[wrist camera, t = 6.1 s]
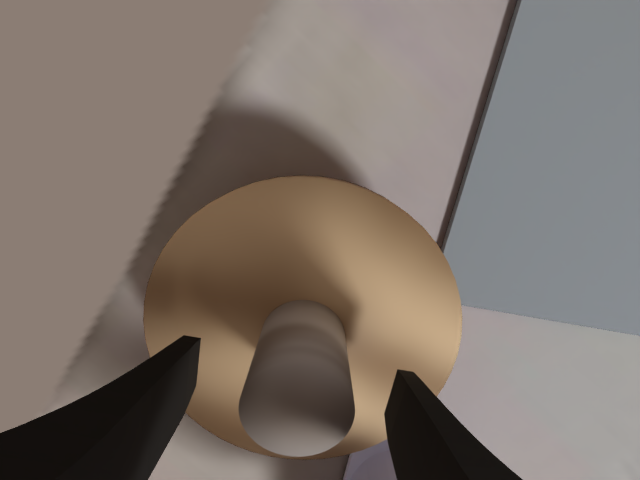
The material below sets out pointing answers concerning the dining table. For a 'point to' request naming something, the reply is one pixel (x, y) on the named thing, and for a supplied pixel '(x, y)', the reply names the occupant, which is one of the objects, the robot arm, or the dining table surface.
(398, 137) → the dining table surface
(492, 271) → the mat
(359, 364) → the lid
